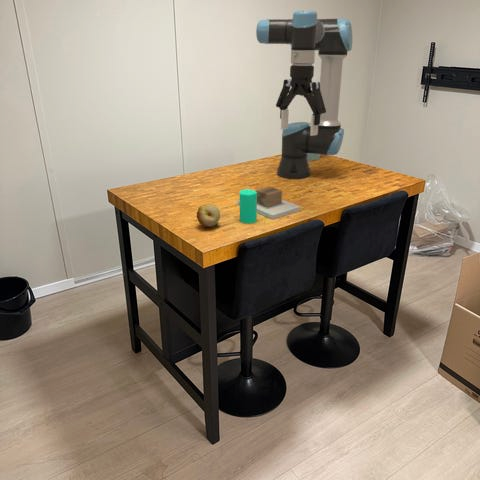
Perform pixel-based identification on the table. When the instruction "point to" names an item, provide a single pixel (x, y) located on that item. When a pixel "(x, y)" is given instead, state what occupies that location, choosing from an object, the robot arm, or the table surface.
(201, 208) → the fruit
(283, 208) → the slab
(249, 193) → the candle
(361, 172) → the table surface
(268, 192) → the walnut block
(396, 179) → the table surface
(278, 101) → the robot arm
